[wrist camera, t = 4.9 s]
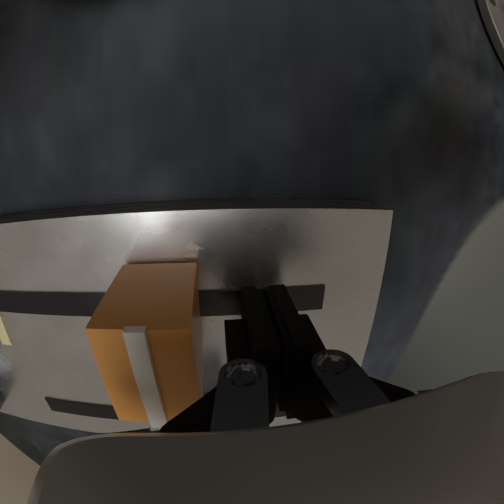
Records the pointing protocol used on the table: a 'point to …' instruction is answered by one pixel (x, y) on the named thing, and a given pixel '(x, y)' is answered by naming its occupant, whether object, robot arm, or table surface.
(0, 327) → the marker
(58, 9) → the table surface
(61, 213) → the console
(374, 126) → the table surface
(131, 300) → the block
